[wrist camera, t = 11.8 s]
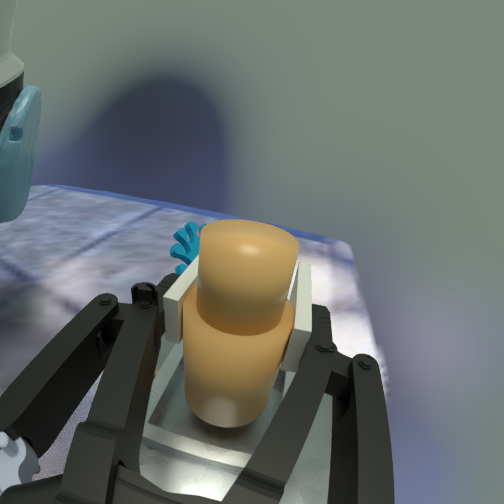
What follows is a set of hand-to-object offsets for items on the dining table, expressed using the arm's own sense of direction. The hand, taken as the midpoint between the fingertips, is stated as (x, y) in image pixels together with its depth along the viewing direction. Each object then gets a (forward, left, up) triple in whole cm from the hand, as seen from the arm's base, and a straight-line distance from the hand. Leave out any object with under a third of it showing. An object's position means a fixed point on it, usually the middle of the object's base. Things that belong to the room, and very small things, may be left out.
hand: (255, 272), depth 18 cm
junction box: (0, -5, -10) cm, 11 cm away
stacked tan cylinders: (0, -5, -6) cm, 8 cm away
